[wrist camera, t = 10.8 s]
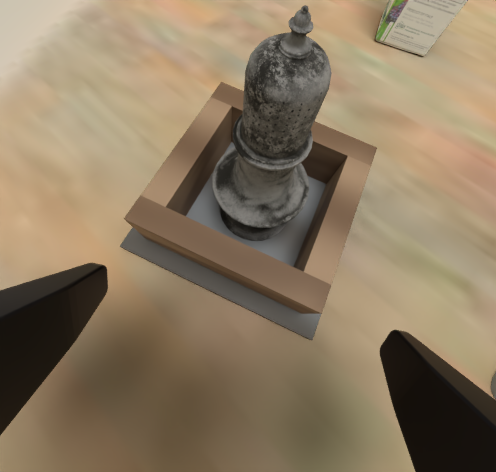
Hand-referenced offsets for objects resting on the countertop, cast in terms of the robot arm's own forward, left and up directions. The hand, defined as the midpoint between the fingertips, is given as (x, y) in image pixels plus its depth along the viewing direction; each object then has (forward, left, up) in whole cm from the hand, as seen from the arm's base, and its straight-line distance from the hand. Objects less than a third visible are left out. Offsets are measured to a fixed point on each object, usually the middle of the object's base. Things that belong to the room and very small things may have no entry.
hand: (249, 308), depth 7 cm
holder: (+7, +2, -9) cm, 12 cm away
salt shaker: (+7, +2, -8) cm, 11 cm away
